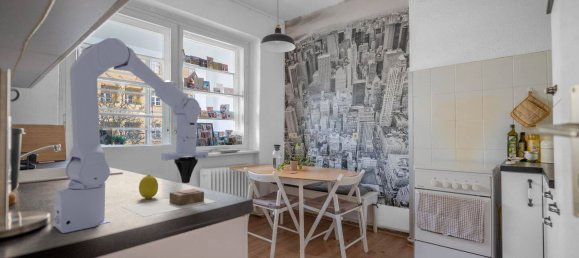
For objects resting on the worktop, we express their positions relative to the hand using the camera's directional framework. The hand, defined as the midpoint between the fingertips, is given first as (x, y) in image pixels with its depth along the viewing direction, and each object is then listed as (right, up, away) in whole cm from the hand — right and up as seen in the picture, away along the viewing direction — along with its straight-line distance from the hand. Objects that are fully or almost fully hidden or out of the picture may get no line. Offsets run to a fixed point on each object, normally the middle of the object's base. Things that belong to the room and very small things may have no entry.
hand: (185, 182), depth 91 cm
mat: (-3, -6, -2) cm, 8 cm away
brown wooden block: (-2, -4, -3) cm, 6 cm away
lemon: (-13, -6, +4) cm, 15 cm away
